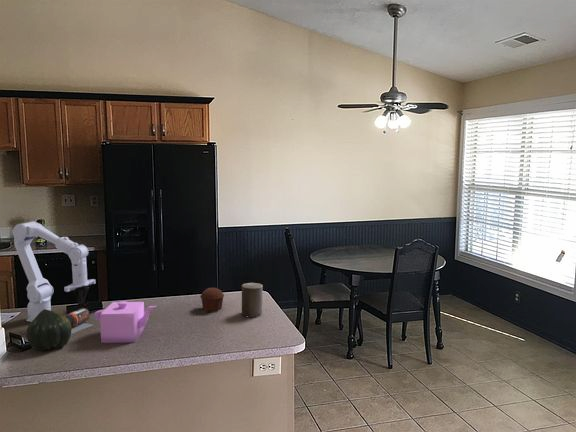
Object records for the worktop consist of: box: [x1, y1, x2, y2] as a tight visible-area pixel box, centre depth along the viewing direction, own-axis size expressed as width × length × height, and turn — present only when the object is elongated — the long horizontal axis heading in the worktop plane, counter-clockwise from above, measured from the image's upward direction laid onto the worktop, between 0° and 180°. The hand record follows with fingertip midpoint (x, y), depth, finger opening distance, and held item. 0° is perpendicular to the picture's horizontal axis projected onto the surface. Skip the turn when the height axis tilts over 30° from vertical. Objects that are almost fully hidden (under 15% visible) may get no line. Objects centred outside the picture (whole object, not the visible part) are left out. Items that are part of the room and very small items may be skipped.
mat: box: [71, 322, 94, 335], centre depth 191 cm, size 16×15×1 cm
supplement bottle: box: [65, 307, 91, 327], centre depth 194 cm, size 6×6×11 cm
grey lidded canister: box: [241, 282, 264, 318], centre depth 209 cm, size 10×10×15 cm
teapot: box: [93, 300, 157, 344], centre depth 183 cm, size 15×25×14 cm, turn 94°
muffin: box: [200, 287, 225, 313], centre depth 216 cm, size 12×11×10 cm
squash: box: [26, 309, 72, 352], centre depth 172 cm, size 14×15×15 cm
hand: (81, 303), depth 198 cm, fingers closed
